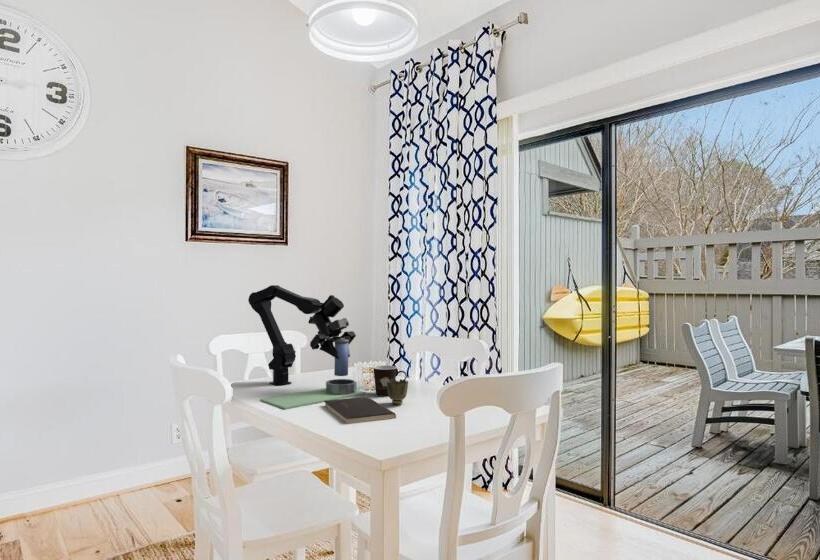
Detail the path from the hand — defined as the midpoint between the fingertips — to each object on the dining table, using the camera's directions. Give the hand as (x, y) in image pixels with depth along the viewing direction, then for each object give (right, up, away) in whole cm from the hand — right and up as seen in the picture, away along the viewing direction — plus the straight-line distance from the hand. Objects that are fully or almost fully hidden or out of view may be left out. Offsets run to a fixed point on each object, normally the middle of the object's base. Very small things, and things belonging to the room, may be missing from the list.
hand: (343, 357), depth 193 cm
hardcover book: (+8, -14, -25) cm, 30 cm away
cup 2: (+20, -14, -15) cm, 28 cm away
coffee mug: (+16, -14, -1) cm, 21 cm away
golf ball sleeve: (-1, -7, +1) cm, 7 cm away
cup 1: (-1, -13, +1) cm, 13 cm away
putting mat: (-10, -13, -6) cm, 17 cm away
